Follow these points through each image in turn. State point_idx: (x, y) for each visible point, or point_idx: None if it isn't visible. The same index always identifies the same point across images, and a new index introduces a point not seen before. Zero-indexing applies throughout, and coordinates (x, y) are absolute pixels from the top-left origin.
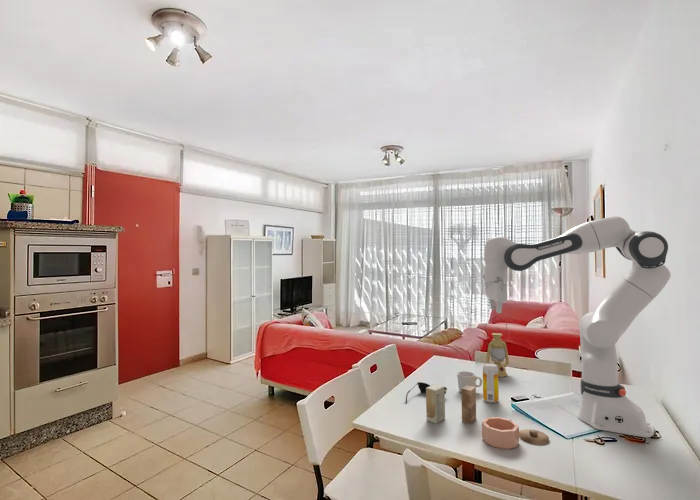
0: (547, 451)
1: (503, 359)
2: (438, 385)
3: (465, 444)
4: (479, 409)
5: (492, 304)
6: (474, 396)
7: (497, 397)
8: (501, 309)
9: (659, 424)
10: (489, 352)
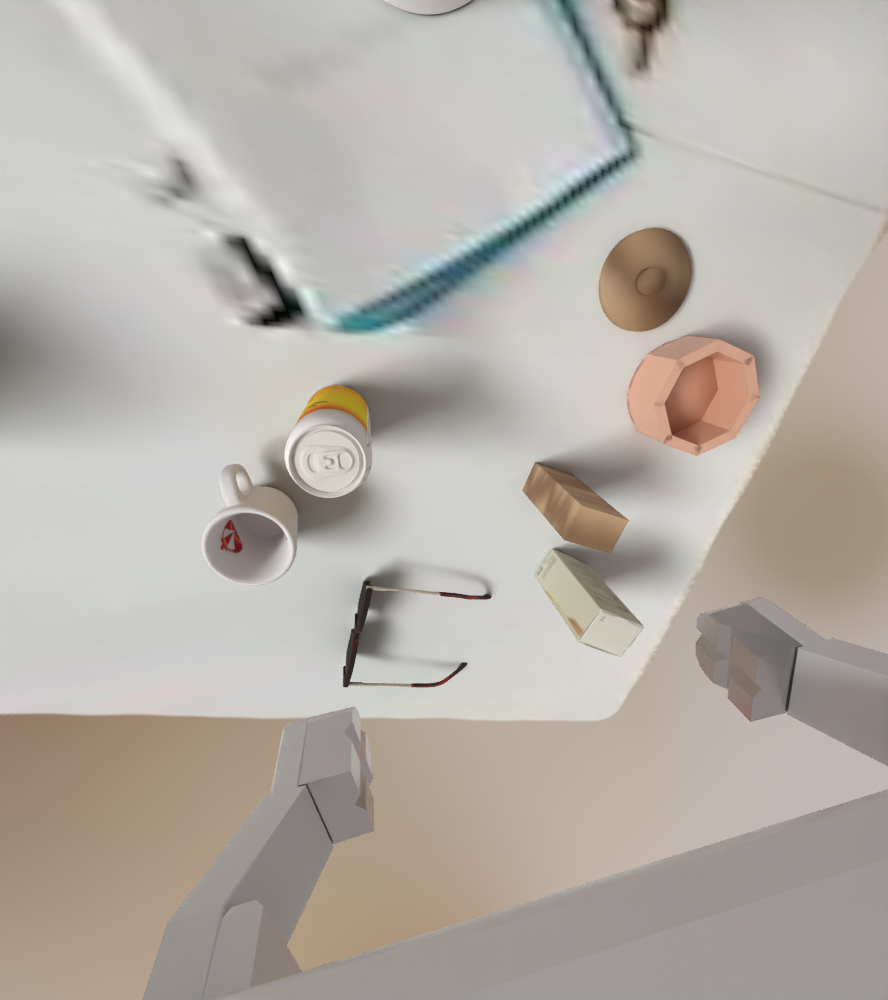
0: (726, 252)
1: None
2: (596, 628)
3: (698, 481)
4: (446, 455)
5: (312, 836)
6: (580, 496)
7: (354, 393)
8: (810, 631)
9: None
10: None
